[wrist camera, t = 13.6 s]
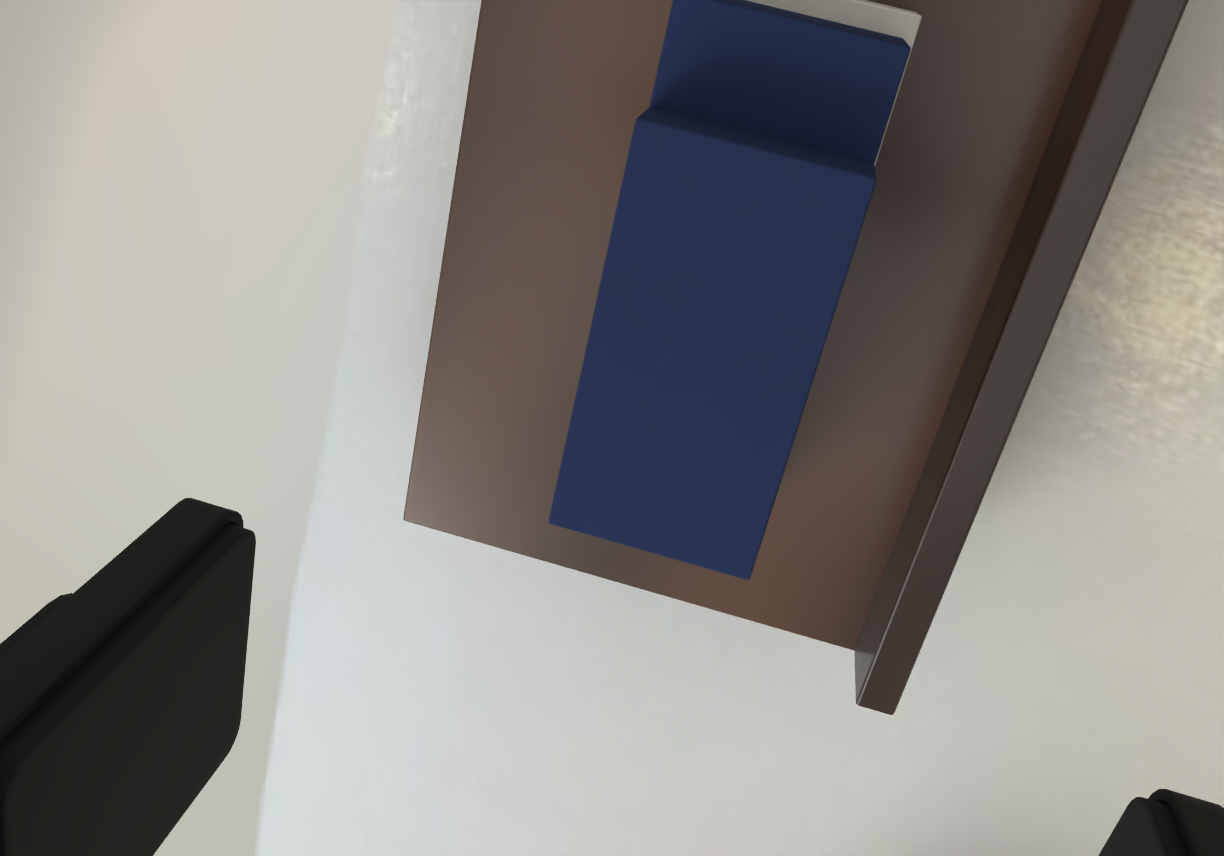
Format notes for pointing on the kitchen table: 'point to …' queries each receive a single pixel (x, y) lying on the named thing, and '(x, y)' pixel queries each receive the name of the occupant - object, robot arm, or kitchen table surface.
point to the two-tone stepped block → (727, 270)
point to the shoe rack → (862, 324)
